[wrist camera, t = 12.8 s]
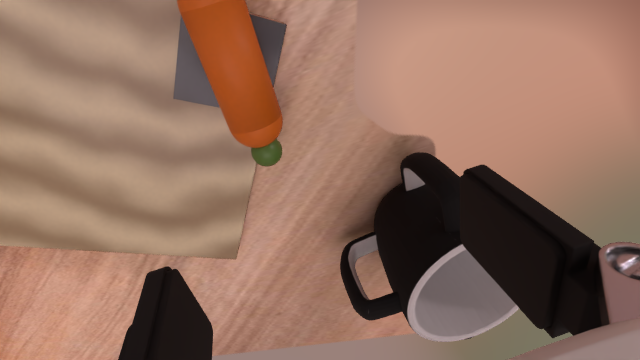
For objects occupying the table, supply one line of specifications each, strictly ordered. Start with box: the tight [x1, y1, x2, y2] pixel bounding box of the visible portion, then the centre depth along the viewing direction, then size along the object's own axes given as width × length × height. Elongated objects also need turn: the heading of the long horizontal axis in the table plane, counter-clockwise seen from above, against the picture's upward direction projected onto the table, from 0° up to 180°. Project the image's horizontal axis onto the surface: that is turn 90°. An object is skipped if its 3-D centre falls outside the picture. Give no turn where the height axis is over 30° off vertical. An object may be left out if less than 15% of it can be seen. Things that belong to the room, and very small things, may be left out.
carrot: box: [177, 0, 282, 166], centre depth 24 cm, size 14×4×4 cm, turn 14°
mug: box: [340, 152, 519, 342], centre depth 33 cm, size 16×16×12 cm
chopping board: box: [0, 0, 287, 259], centre depth 27 cm, size 22×20×2 cm
